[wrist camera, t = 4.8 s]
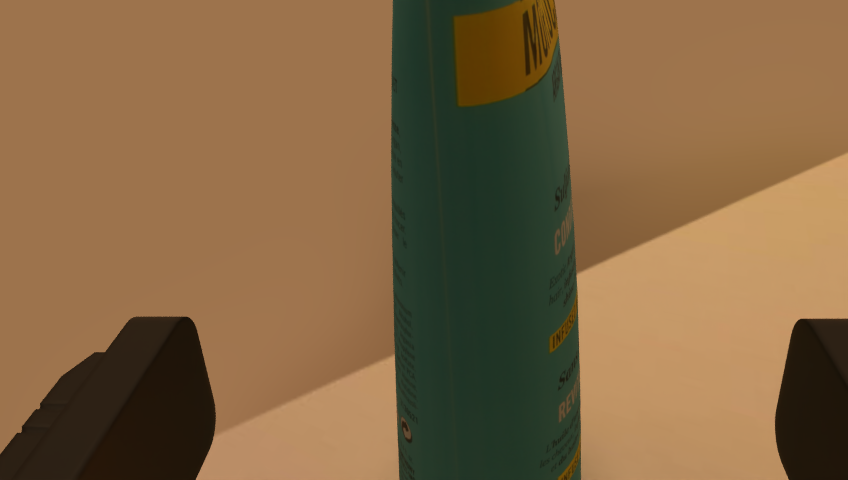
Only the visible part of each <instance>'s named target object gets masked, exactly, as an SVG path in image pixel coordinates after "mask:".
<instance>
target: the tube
mask: <svg viewBox="0 0 848 480" xmlns="http://www.w3.org/2000/svg"><path fill="white" fill-rule="evenodd" d="M392 29H393V30H392V128H391V129H392V131H391V133H392V134H391V136H392V138H391V140H392V142H391V144H392V145H391V148H392V149H391V158H392V159H391V162H392V163H391V177H392V247H393V289H394V290H393V292H394V337H395V368H396V398H397V427H398V449H399V477H400V480H581V421H580V366H579V332H578V295H577V277H576V259H575V240H574V222H573V208H572V193H571V179H570V165H569V151H568V140H567V127H566V115H565V103H564V91H563V80H562V67H561V55H560V46H559V36H558V27H557V17H556V9H555V2H554V0H393V28H392Z"/></svg>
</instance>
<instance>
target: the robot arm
mask: <svg viewBox="0 0 848 480" xmlns="http://www.w3.org/2000/svg"><path fill="white" fill-rule="evenodd" d="M215 414H216V413H215V404H214V399H213V395H212V390H211V386H210V382H209V378H208V374H207V370H206V366H205V362H204V357H203V354H202V349H201V345H200V341H199V337H198V333H197V329H196V326H195V324H194V322H193V321H192V320H191V319H190V318H189V317H133V318H132V319H130V320H129V321H128V322H127V323H126V325H125V326H124V328H123V329H122V330H121V331H120V333H119V334H118V336H117V337H116V338H115V340H114V341H113V342H112V344H111V345H110V346H109V348H108V349H107V350H106V352H96V353H93V354H92V355H91V356H89V357H88V358H86V359H85V360H84V361H82V362H81V363H80V364H78V365H77V366H75V367H74V368H72V369H71V370H70V371H68V372H67V373H66V374H64V375H63V376H62V377H61V378H60V379H59V380H58V382H57V383H56V384H55V386H54V387H53V388H52V389H51V391H50V392H49V393H48V394H47V396H46V397H45V398H44V399H43V401H42V402H41V403H40V409H36V410H35V411H34V412H33V413H32V415H31V416H30V417H29V419H28V420H27V421H26V422H25V424H24V425H23V426H22V432H21V433H17V434H16V435H15V436H14V438H13V439H12V440H11V441H10V443H9V444H8V445H7V447H6V448H5V449H4V450H3V452H2V453H1V454H0V480H196V478H197V475H198V473H199V471H200V469H201V467H202V465H203V462H204V460H205V458H206V456H207V454H208V452H209V449H210V447H211V444H212V441H213V436H214V431H215V421H216V420H215V419H216V418H215V417H216V415H215ZM775 434H776V442H777V448H778V453H779V456H780V459H781V462H782V464H783V467H784V469H785V471H786V474H787V476H788V478H789V480H848V319H800V320H798V321H797V322H796V324H795V325H794V328H793V330H792V334H791V339H790V344H789V349H788V354H787V359H786V364H785V369H784V374H783V379H782V384H781V389H780V394H779V399H778V404H777V409H776V416H775Z"/></svg>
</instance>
